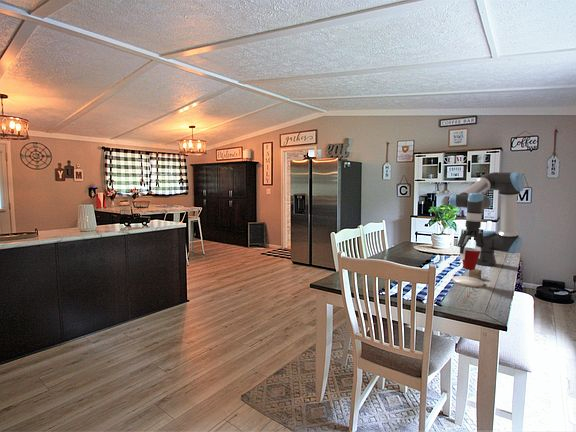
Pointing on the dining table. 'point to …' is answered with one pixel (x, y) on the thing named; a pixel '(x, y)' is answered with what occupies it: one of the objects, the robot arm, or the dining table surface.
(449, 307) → the dining table surface
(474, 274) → the walnut block
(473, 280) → the disc
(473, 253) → the plastic cup
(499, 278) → the dining table surface
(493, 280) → the dining table surface
